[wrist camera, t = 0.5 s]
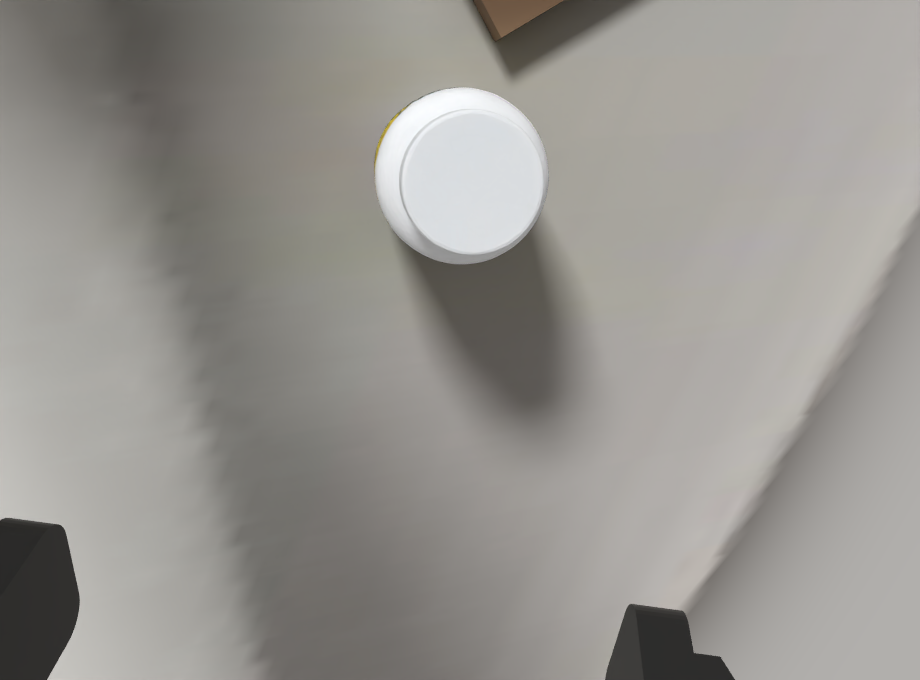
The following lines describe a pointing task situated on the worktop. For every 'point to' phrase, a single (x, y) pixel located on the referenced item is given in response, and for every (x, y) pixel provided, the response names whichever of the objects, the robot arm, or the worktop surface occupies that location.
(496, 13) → the walnut board
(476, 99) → the supplement bottle
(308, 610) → the worktop surface
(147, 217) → the worktop surface
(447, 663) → the worktop surface
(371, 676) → the worktop surface
